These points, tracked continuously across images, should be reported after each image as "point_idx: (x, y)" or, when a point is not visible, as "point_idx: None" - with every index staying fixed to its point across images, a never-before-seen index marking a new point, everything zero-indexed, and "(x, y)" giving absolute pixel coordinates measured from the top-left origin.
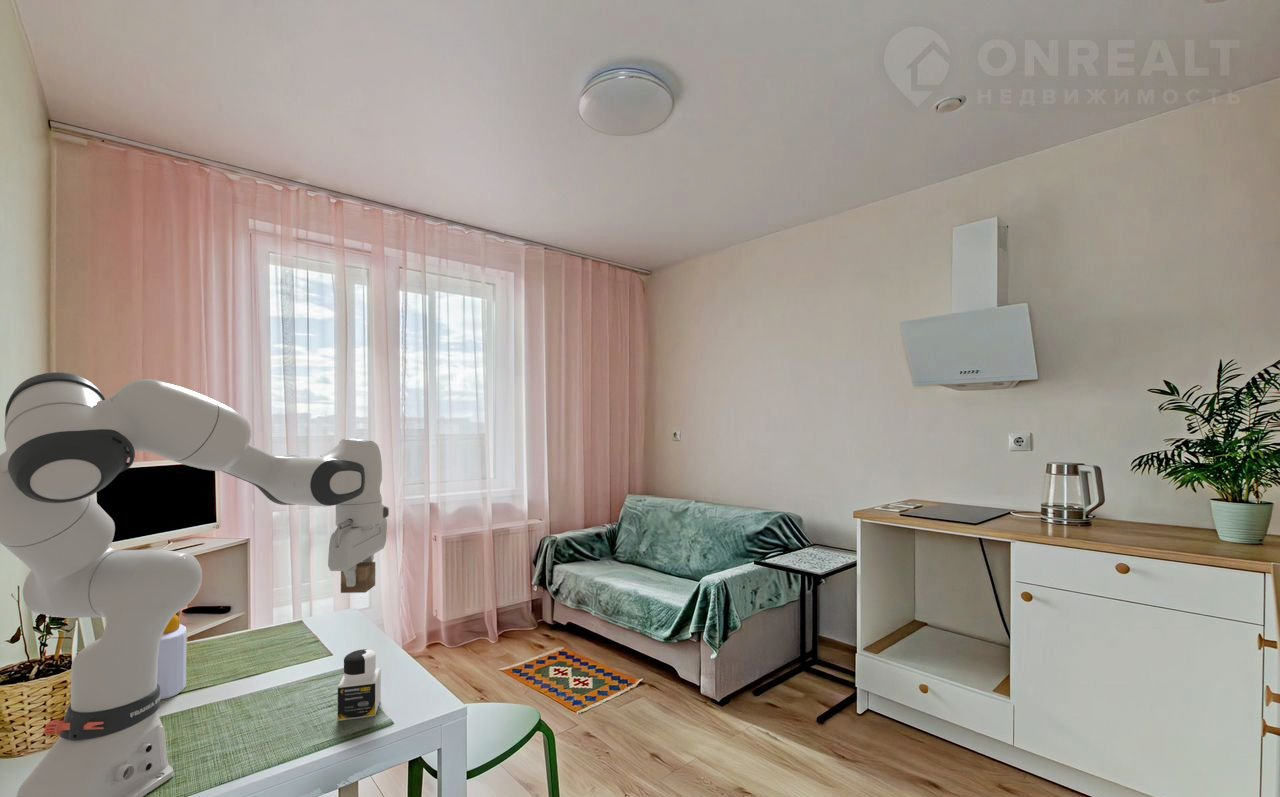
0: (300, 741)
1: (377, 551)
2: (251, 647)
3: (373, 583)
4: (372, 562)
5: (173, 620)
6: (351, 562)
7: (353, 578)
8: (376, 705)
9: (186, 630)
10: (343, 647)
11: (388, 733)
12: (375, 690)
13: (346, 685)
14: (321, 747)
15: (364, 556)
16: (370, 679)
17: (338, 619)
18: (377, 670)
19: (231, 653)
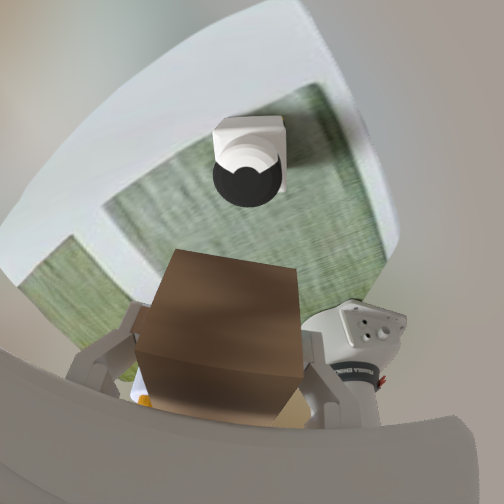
0: (327, 205)
1: (44, 374)
2: (75, 314)
3: (195, 262)
4: (150, 361)
5: (150, 406)
6: (440, 444)
7: (324, 365)
8: (271, 117)
9: (144, 389)
10: (52, 228)
11: (346, 89)
12: (282, 123)
13: (286, 177)
14: (354, 176)
15: (266, 450)
16: (275, 137)
17: (3, 255)
18: (229, 132)
19: (90, 325)
